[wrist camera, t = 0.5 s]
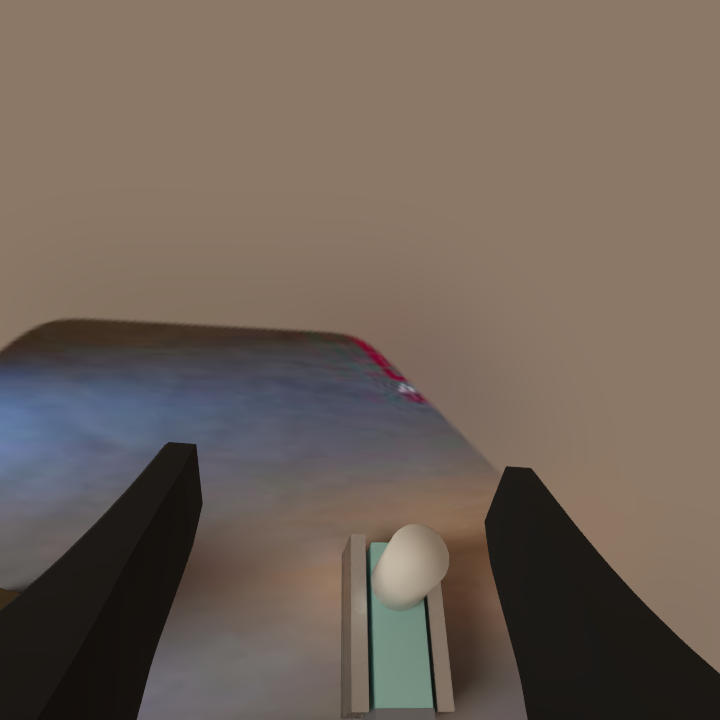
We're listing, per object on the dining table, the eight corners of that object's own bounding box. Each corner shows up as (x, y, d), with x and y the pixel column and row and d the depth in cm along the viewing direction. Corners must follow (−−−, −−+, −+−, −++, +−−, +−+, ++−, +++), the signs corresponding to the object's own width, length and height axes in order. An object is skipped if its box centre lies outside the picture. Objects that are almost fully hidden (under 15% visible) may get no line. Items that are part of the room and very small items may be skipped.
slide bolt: (419, 728, 25) (469, 717, 19) (363, 729, 25) (396, 718, 19) (407, 561, 30) (444, 513, 24) (360, 559, 29) (386, 510, 24)
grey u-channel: (433, 717, 26) (454, 711, 23) (341, 717, 25) (351, 712, 23) (419, 557, 31) (435, 537, 28) (342, 554, 30) (350, 533, 28)
